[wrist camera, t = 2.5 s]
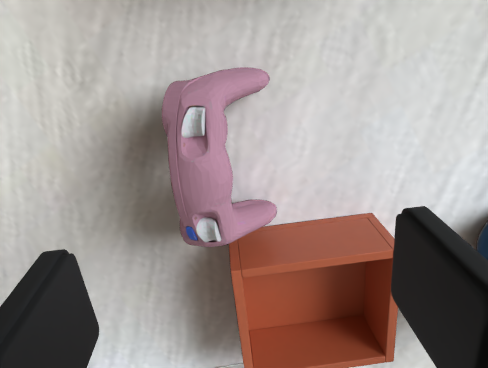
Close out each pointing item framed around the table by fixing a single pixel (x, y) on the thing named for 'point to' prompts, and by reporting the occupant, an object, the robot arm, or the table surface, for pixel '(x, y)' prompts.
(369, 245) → the terracotta bin
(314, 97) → the table surface
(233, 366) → the bracket
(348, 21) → the table surface
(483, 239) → the soda can
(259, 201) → the video game controller
